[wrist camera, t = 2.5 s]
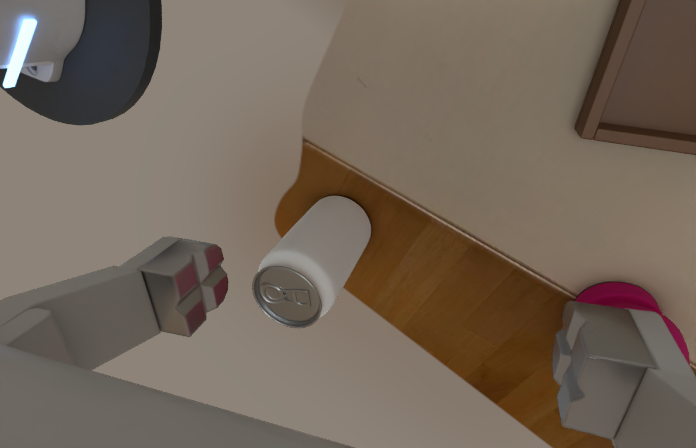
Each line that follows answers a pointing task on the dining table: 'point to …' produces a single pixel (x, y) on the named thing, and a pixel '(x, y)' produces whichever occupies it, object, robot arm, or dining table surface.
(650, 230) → the dining table surface
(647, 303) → the pepper mill
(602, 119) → the tray
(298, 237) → the can
